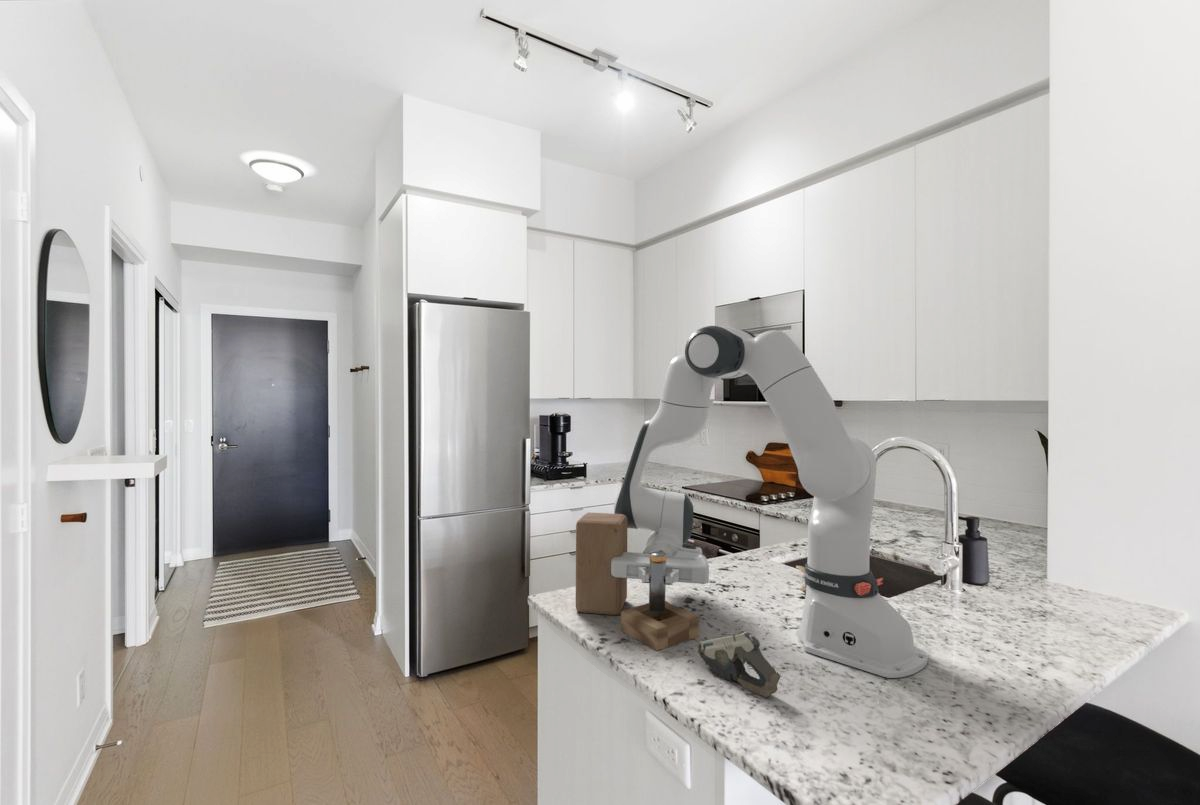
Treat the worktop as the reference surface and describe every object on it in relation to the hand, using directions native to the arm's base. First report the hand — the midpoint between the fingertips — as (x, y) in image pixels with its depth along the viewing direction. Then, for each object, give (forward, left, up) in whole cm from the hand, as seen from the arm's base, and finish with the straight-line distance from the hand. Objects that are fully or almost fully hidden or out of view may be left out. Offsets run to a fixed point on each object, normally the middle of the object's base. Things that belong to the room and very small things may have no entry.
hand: (657, 580), depth 113 cm
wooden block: (+18, 0, -11) cm, 21 cm away
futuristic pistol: (-21, +1, -11) cm, 24 cm away
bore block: (0, -1, -11) cm, 11 cm away
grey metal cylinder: (+1, -1, -6) cm, 6 cm away
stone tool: (-3, -54, -11) cm, 56 cm away
